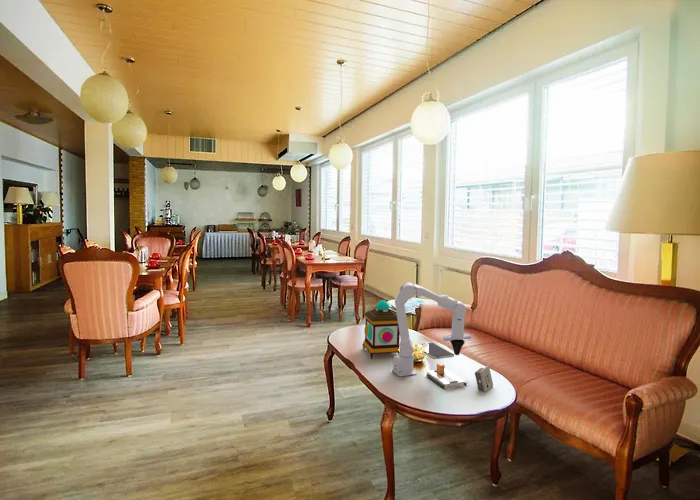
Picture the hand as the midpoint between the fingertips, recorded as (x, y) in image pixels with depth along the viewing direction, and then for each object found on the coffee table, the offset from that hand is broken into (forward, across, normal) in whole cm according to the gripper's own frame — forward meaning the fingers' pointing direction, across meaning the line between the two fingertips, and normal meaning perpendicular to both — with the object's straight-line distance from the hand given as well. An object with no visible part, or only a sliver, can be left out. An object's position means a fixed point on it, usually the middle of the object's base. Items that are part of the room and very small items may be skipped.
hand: (456, 354), depth 198 cm
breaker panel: (+10, -9, -4) cm, 14 cm away
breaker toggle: (+8, -9, 0) cm, 12 cm away
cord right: (+10, -2, -4) cm, 12 cm away
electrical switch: (+11, +4, -16) cm, 20 cm away
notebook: (+11, +8, +34) cm, 37 cm away
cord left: (+10, -14, -4) cm, 18 cm away
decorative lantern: (+11, -22, +39) cm, 46 cm away
